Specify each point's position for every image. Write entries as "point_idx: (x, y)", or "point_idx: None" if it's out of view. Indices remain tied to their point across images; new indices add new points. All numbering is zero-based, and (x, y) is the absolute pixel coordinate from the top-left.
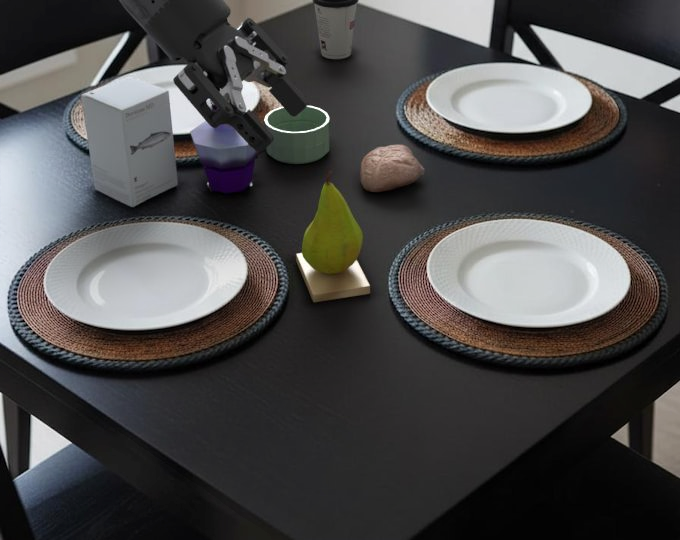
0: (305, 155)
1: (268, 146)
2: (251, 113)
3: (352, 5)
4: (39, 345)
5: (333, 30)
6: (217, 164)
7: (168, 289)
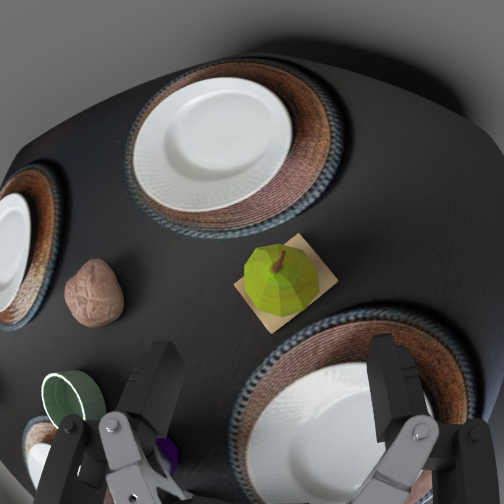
0: (94, 388)
1: None
2: (395, 405)
3: None
4: None
5: None
6: (171, 467)
7: (367, 425)
